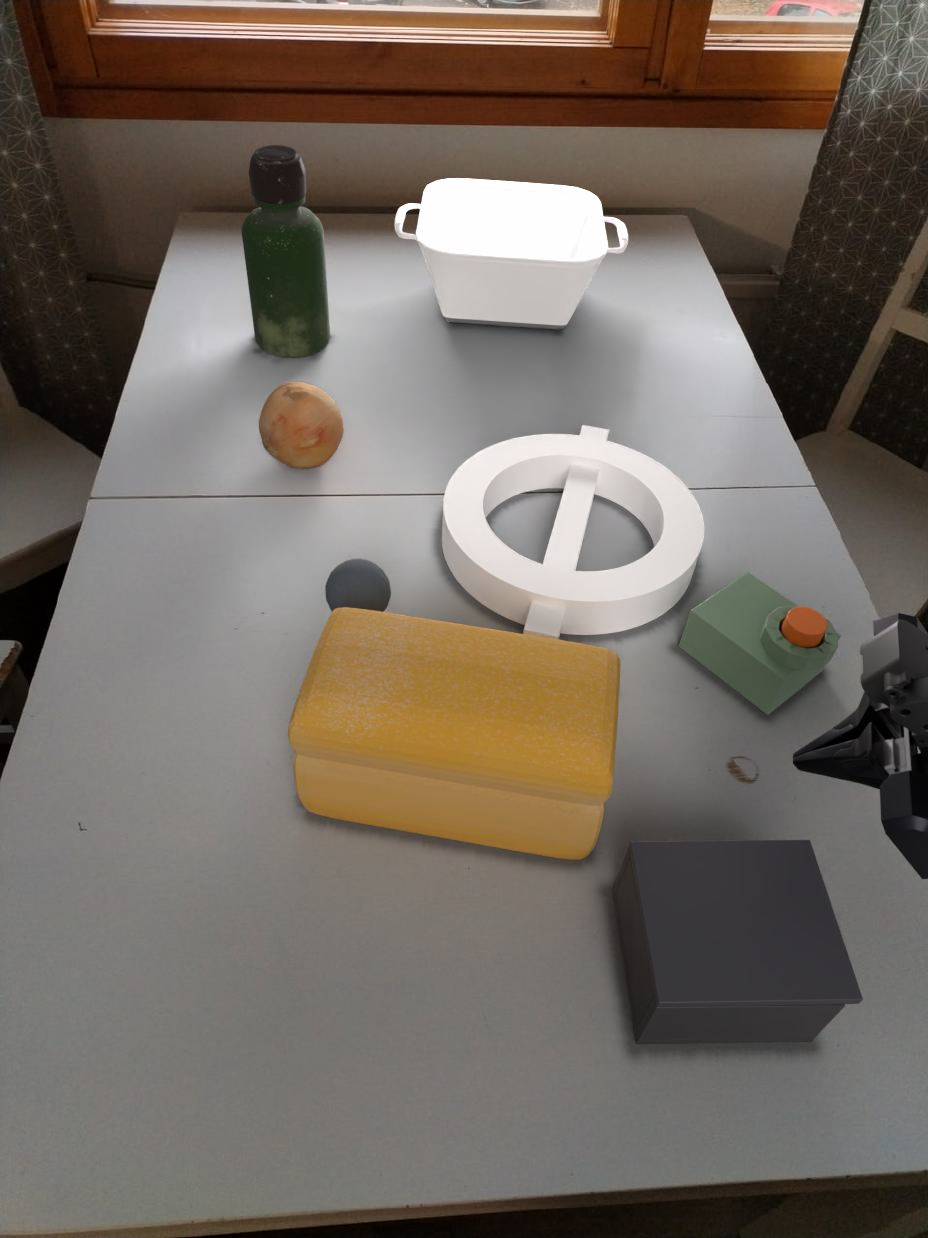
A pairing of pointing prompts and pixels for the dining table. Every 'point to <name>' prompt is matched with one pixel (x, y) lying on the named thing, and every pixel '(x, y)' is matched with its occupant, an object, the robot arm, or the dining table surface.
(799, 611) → the button
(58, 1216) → the dining table surface
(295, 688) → the dining table surface
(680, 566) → the white circle with bar
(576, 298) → the tub
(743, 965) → the fryer lid
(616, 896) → the charcoal lidded box
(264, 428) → the orange-brown rounded lump
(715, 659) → the control block
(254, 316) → the green bottle
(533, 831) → the bread
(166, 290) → the dining table surface
